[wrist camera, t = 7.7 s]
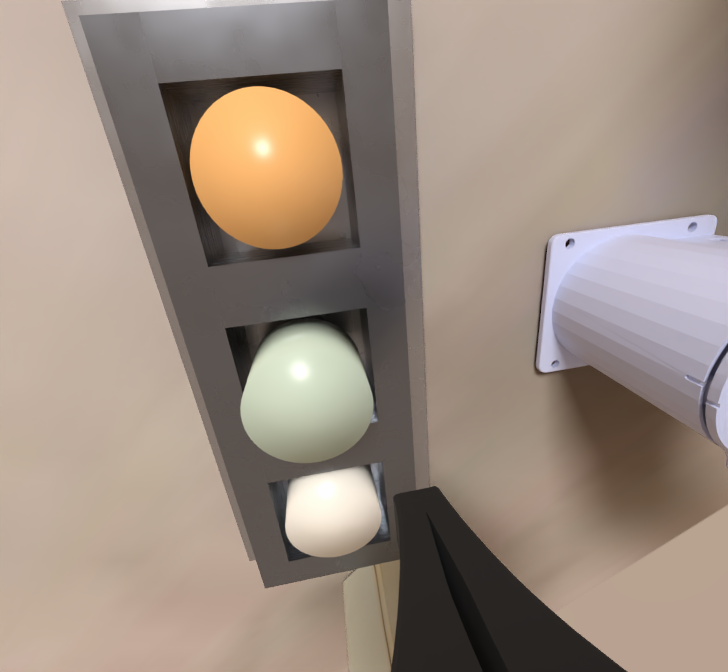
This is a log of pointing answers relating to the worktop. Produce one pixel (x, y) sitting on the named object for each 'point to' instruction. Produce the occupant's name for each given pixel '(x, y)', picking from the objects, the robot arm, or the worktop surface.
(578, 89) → the worktop surface
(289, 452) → the sage button
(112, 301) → the worktop surface
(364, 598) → the skincare box
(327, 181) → the orange button
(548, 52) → the worktop surface
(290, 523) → the ivory button
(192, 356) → the button panel
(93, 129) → the worktop surface
